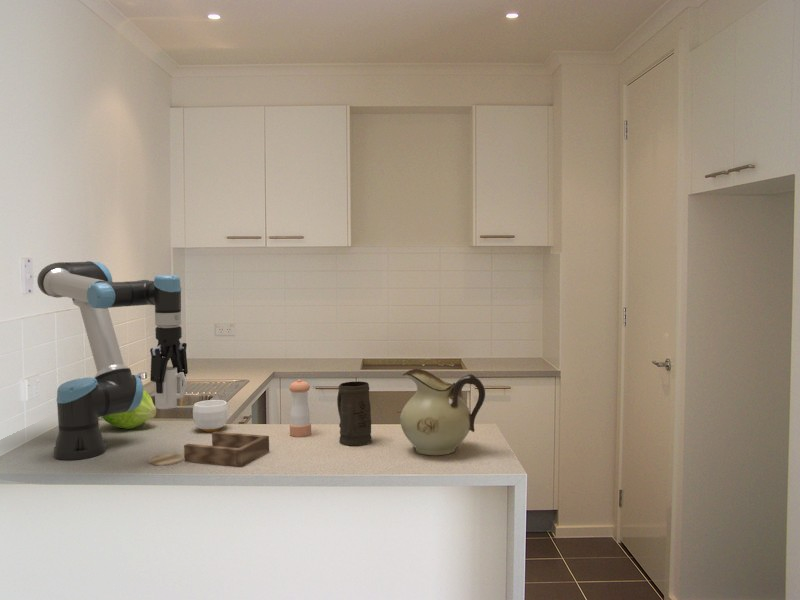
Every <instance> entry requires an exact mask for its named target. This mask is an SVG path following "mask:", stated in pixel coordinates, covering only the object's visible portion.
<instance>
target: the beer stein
mask: <svg viewBox="0 0 800 600" xmlns="http://www.w3.org/2000/svg"><path fill="white" fill-rule="evenodd" d="M337 392H338V393H337V398H336V399H337V400H336V403H337V404H336V405H337V410H338V416H339V419H340V421H339V426H338V427H339V441H338V442H339V444H340V445H342V446H350V447H357V446H358V447H359V446H361V447H362V446H365V445H369V444H370V443H371V442H372V441H373V439H372V416H371V415H372V414H371V412H372V411H371V410H372V409H371V401H370V384H369V382H367V381H360V380H359V381H347V382H346V381H345V382H342V383H340V384H339V385H338V391H337Z"/></svg>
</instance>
